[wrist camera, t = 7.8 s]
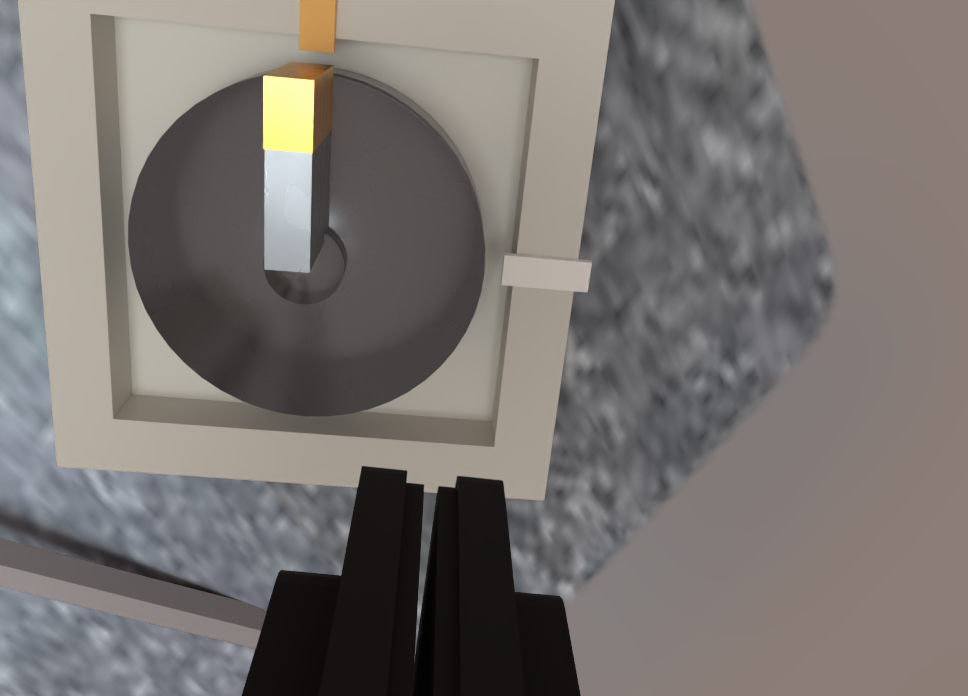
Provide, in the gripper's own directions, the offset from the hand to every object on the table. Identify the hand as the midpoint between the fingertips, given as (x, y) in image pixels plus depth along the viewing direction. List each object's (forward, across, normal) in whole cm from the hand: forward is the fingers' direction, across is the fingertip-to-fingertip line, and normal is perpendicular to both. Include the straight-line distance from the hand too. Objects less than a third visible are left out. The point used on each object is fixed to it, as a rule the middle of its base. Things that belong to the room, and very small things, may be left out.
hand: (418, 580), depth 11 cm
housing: (+23, +4, +2) cm, 23 cm away
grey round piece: (+21, +4, +2) cm, 22 cm away
